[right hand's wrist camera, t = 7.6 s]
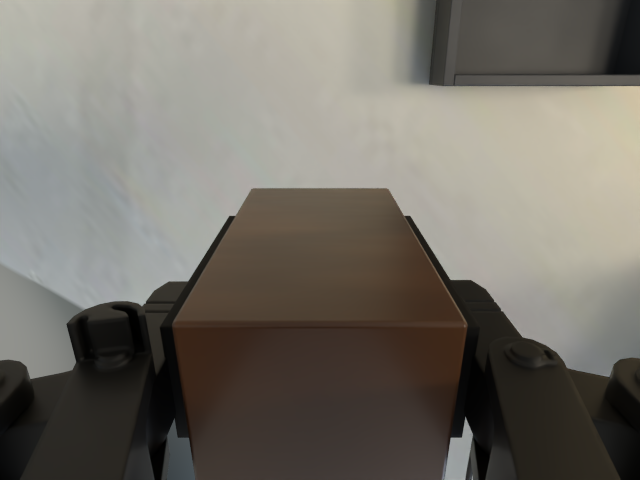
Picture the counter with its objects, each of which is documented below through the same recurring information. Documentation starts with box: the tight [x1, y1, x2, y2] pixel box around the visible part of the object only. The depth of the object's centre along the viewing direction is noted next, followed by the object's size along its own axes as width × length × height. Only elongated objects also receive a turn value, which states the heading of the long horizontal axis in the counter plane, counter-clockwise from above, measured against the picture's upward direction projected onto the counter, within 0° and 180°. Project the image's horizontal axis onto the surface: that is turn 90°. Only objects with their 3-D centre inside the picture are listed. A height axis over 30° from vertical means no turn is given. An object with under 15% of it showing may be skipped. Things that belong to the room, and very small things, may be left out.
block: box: [172, 188, 468, 480], centre depth 11 cm, size 4×4×8 cm
